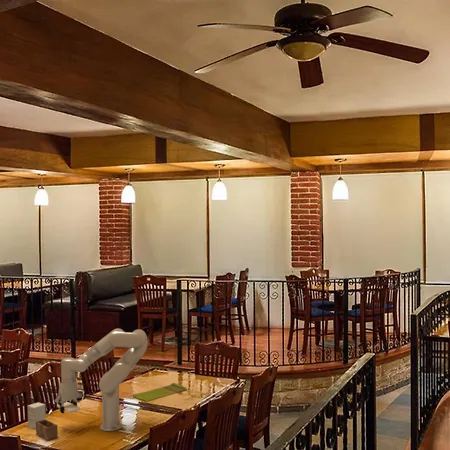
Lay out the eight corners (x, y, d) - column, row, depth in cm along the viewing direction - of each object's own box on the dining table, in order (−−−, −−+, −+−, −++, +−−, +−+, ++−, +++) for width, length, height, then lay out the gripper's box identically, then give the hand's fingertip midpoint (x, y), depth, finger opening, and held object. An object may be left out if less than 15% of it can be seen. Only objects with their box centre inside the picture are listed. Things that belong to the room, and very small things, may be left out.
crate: (57, 438, 306) (57, 425, 307) (47, 441, 302) (46, 428, 302) (46, 431, 317) (46, 419, 317) (36, 434, 313) (35, 422, 313)
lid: (80, 411, 316) (80, 407, 316) (69, 414, 312) (69, 410, 312) (68, 405, 327) (68, 402, 327) (56, 408, 323) (56, 404, 323)
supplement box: (39, 423, 331) (38, 402, 331) (46, 426, 327) (45, 404, 327) (27, 427, 326) (27, 405, 326) (34, 429, 321) (34, 407, 321)
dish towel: (187, 390, 391) (187, 386, 391) (146, 403, 366) (145, 398, 366) (173, 386, 402) (173, 382, 402) (132, 398, 377) (132, 393, 377)
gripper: (79, 376, 328) (79, 406, 328) (50, 381, 317) (51, 413, 316) (85, 378, 323) (85, 409, 323) (57, 384, 311) (57, 416, 311)
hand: (68, 411), depth 319 cm, fingers closed on lid, 7 cm apart
